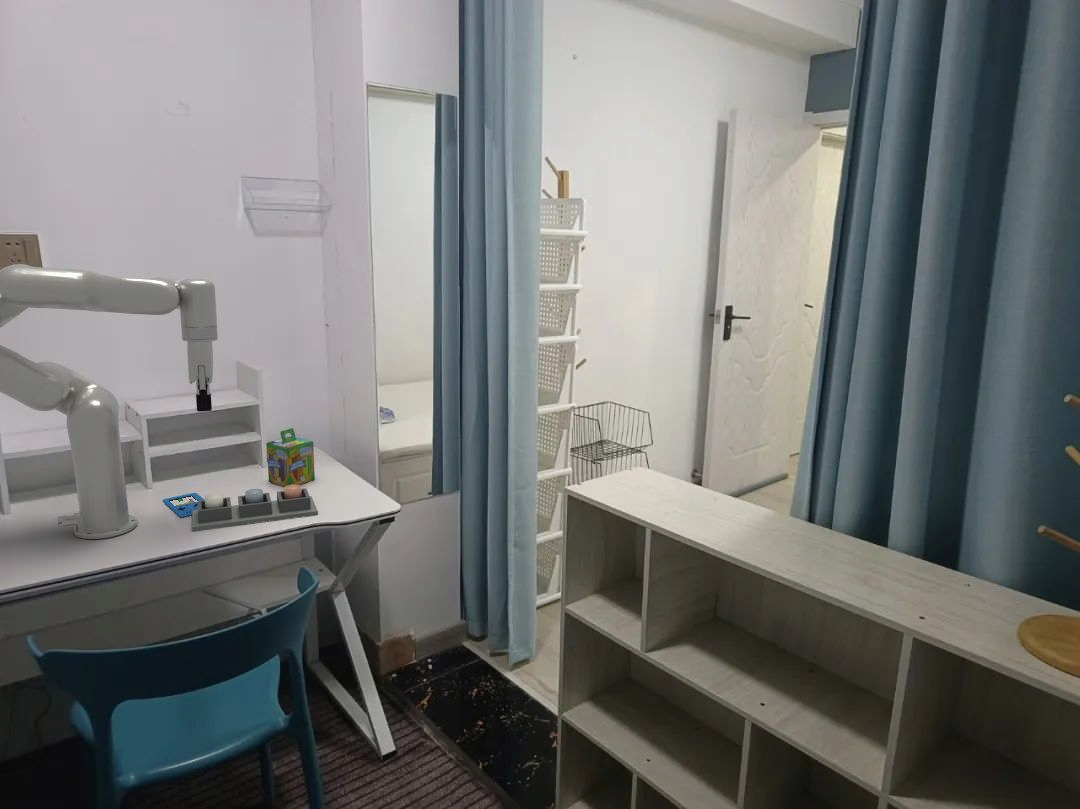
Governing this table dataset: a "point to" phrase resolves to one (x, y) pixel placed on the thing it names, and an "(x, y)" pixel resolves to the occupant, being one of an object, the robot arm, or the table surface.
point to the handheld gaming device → (183, 505)
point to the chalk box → (290, 460)
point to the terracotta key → (293, 491)
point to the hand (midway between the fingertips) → (204, 410)
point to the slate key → (254, 496)
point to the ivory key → (214, 501)
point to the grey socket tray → (252, 511)
